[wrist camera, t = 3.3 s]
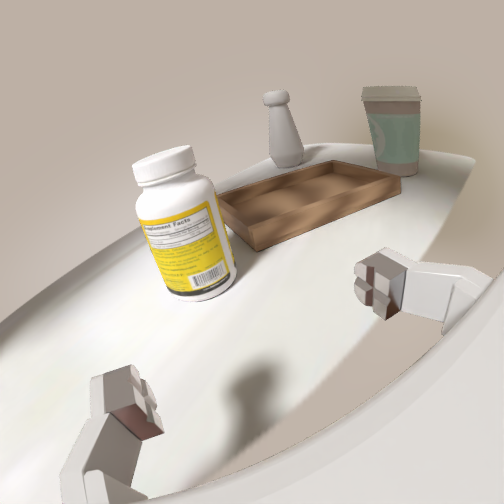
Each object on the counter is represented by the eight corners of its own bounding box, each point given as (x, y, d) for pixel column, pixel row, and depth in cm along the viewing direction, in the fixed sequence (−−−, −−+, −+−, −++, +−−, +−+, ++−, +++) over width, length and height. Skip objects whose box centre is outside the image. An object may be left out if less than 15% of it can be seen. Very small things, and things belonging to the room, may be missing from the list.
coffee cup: (377, 161, 41) (369, 87, 35) (429, 166, 35) (423, 87, 30) (360, 176, 35) (349, 87, 30) (422, 183, 30) (416, 86, 24)
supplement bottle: (190, 261, 25) (154, 151, 20) (248, 262, 23) (217, 136, 18) (156, 301, 20) (105, 175, 16) (220, 308, 18) (172, 157, 14)
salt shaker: (295, 159, 50) (283, 90, 44) (312, 163, 46) (299, 87, 39) (266, 166, 49) (252, 95, 43) (280, 171, 44) (265, 91, 38)
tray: (256, 252, 24) (251, 230, 23) (213, 213, 34) (209, 197, 33) (400, 193, 28) (400, 176, 28) (334, 173, 39) (333, 159, 38)
